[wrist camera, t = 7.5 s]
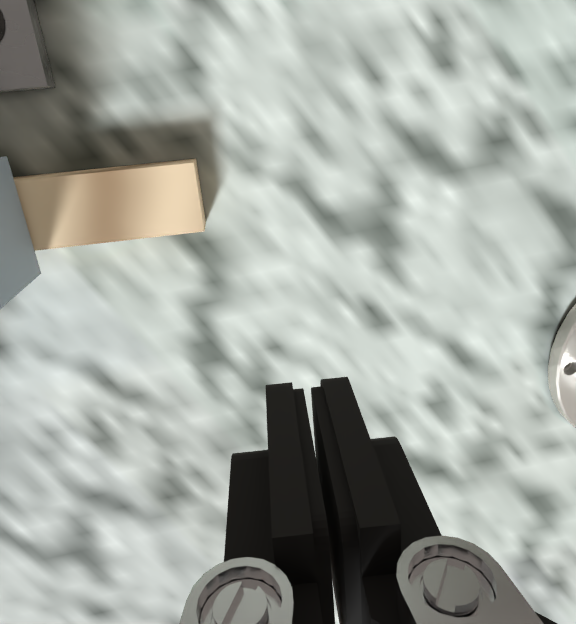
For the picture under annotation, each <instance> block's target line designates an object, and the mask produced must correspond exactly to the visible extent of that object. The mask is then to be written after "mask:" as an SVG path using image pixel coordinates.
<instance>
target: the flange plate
mask: <svg viewBox="0 0 576 624" xmlns="http://www.w3.org/2000/svg"><path fill="white" fill-rule="evenodd" d="M53 87H55V85H54V80H53V76H52V72H51V68H50V64H49V60H48V56H47V52H46V48H45V43H44V39H43V35H42V31H41V27H40V23H39V19H38V15H37V11H36V7H35V2H34V0H0V92H8V91H19V90H31V89H42V88H53Z"/></svg>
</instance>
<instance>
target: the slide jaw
mask: <svg viewBox="0 0 576 624" xmlns="http://www.w3.org/2000/svg"><path fill="white" fill-rule="evenodd" d="M40 274H41V272H40V268H39V265H38V261H37V258H36V254H35V251H34V248H33V244H32V241H31V237H30V234H29V230H28V227H27V224H26V220H25V217H24V213H23V210H22V206H21V203H20V200H19V196H18V193H17V189H16V186H15V182H14V179H13V176H12V172H11V169H10V165H9V162H8V158H7V156H5V157H0V309H1V308H2V307H3V306H4V305H6V304H7V303H8V302H9V301H10V300H11V299H12V298H14V297H15V296H16V295H17V294H18V293H19V292H20V291H21V290H23V289H24V288H25V287H26V286H27V285H28V284H29V283H31V282H32V281H33V280H34V279H35V278H36V277H37V276H39V275H40Z"/></svg>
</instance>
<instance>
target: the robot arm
mask: <svg viewBox="0 0 576 624" xmlns="http://www.w3.org/2000/svg"><path fill="white" fill-rule="evenodd" d="M548 385H549V389H550V392H551V396H552V400H553V401H554V403H555V405H556V407H557V409H558V410H559V412H560V413H561V414H562V415H563V416H564V417H565V418H566V420H567V421H568V422H569V423H570V424H572V425H573V426H574V427H575V428H576V304H575V305H574V306H573V308H572V309H571V310H570V311H569V313H568V315H567V316H566V318H565V320H564V322H563V323H562V325H561V327H560V329H559V330H558V333H557V335H556V338H555V341H554V343H553V346H552V349H551V353H550V359H549V364H548ZM311 395H312V409H313V423H314V437H315V451H316V457H315V451H314V446H313V440H312V435H311V429H310V424H309V418H308V413H307V407H306V401H305V396H304V390H303V389H293V386H292V383H282V384H272V385H266V406H267V431H268V450H263V451H253V452H243V453H234V454H232V458H231V471H230V485H229V499H228V513H227V527H226V541H225V556H224V562H223V563H220V564H218V565H216V566H215V567H213V568H212V569H210V570H209V571H207V572H206V573H205V574H203V576H202V577H201V578H200V579H199V580H198V581H197V582H196V584H195V585H194V586H193V588H192V590H191V592H190V594H189V596H188V598H187V600H186V603H185V607H184V610H183V613H182V617H181V620H180V623H179V624H335V617H334V602H333V587H334V593H335V599H336V605H337V611H338V617H339V623H340V624H557V623H555V622H553V621H551V620H549V619H548V618H546V617H544V616H542V615H540V614H538V613H536V612H535V611H534V610H533V609H532V608H531V606H530V605H529V604H528V602H527V601H526V600H525V598H524V597H523V595H522V594H521V593H520V591H519V590H518V589H517V587H516V586H515V585H514V583H513V582H512V581H511V579H510V578H509V577H508V575H507V574H506V573H505V571H504V570H503V569H502V567H501V566H500V565H499V564H498V563H497V562H496V561H495V560H494V559H493V558H492V556H491V555H490V554H489V553H487V552H486V551H484V550H483V549H481V548H480V547H478V546H476V545H475V544H473V543H470V542H468V541H465V540H462V539H459V538H455V537H448V536H441V533H440V531H439V529H438V527H437V525H436V522H435V520H434V518H433V516H432V513H431V511H430V509H429V507H428V505H427V502H426V500H425V498H424V496H423V493H422V491H421V489H420V487H419V485H418V482H417V480H416V478H415V476H414V473H413V471H412V469H411V467H410V465H409V462H408V460H407V458H406V456H405V453H404V451H403V449H402V447H401V445H400V443H399V441H398V439H397V438H396V437H386V438H377V439H370V437H369V434H368V431H367V429H366V426H365V423H364V420H363V418H362V415H361V412H360V409H359V407H358V404H357V401H356V398H355V396H354V393H353V390H352V387H351V385H350V382H349V379H348V377H341V378H332V379H322V380H321V387H312V388H311ZM332 581H333V586H332Z"/></svg>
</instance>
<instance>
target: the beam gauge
mask: <svg viewBox="0 0 576 624" xmlns="http://www.w3.org/2000/svg"><path fill="white" fill-rule="evenodd" d="M13 179H14V182H15V186H16V189H17V193H18V196H19V200H20V203H21V206H22V210H23V213H24V217H25V220H26V224H27V227H28V230H29V234H30V237H31V241H32V244H33V248H34V251H35V250H44V249H53V248H62V247H71V246H79V245H88V244H97V243H106V242H115V241H124V240H132V239H141V238H150V237H159V236H168V235H177V234H185V233H194V232H203V231H204V230H205V224H206V220H205V213H204V207H203V200H202V194H201V187H200V181H199V174H198V167H197V161H196V159H188V160H178V161H168V162H158V163H148V164H138V165H129V166H119V167H109V168H99V169H89V170H80V171H70V172H60V173H50V174H40V175H31V176H21V177H13Z"/></svg>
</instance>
